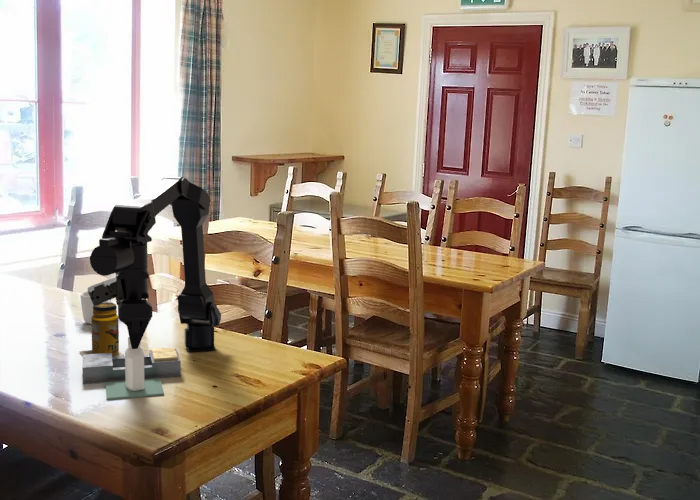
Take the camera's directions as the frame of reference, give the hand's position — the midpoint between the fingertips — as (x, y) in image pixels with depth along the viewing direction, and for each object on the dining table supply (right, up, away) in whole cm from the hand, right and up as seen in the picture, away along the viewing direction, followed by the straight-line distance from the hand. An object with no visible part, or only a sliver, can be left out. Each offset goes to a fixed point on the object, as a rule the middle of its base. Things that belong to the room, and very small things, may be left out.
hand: (133, 342), depth 147 cm
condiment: (-15, -6, +24) cm, 28 cm away
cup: (-24, -1, +49) cm, 55 cm away
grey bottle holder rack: (-4, -8, +12) cm, 15 cm away
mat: (0, -10, +2) cm, 10 cm away
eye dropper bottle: (0, -10, +2) cm, 10 cm away
